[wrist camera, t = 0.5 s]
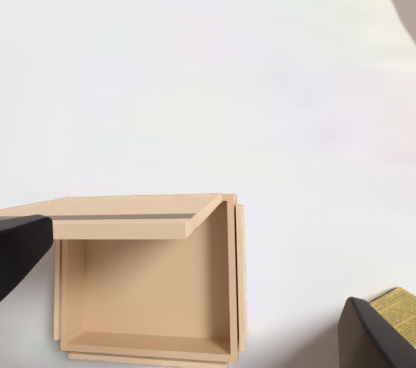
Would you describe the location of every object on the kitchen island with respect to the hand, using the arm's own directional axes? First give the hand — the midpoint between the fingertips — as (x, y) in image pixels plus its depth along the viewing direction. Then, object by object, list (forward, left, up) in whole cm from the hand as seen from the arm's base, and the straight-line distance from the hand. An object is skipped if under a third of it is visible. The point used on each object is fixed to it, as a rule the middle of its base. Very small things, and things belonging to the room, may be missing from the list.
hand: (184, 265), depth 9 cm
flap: (-5, +5, -13) cm, 15 cm away
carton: (-8, 0, -17) cm, 18 cm away
